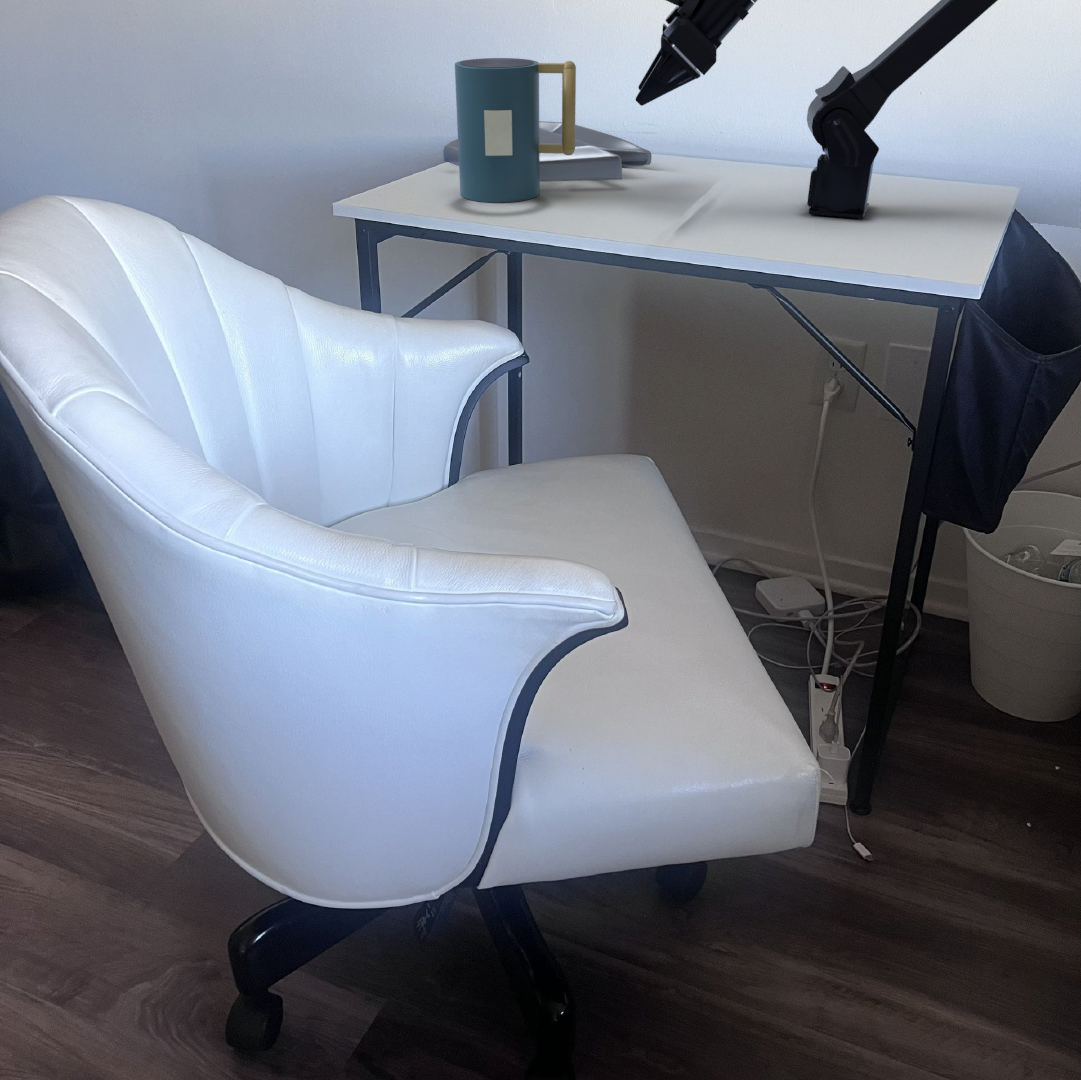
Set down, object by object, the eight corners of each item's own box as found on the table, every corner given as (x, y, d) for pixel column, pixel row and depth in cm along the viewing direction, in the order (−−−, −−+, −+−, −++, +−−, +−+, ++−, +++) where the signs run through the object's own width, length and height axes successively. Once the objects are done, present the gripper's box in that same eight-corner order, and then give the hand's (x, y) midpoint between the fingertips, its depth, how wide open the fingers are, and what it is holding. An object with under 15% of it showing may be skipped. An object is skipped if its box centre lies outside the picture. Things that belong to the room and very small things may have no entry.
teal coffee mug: (581, 190, 131) (583, 58, 123) (552, 209, 123) (552, 68, 115) (480, 181, 136) (475, 53, 128) (445, 199, 128) (438, 63, 120)
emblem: (676, 123, 149) (594, 158, 128) (674, 162, 152) (593, 202, 131) (507, 109, 161) (406, 139, 140) (508, 145, 163) (409, 180, 142)
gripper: (685, -72, 121) (595, 38, 128) (685, -69, 105) (583, 56, 113) (751, -1, 124) (659, 102, 131) (761, 12, 108) (656, 129, 116)
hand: (639, 96), depth 123 cm, fingers open, 9 cm apart
